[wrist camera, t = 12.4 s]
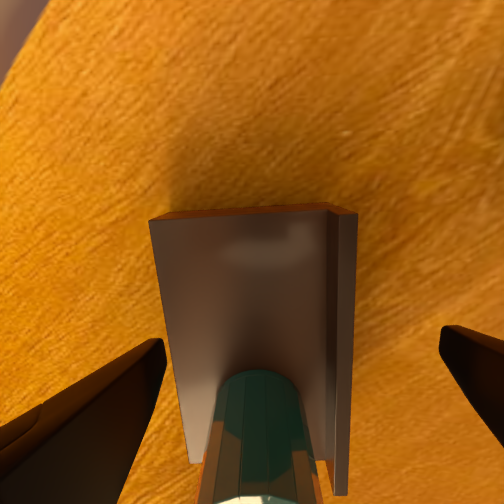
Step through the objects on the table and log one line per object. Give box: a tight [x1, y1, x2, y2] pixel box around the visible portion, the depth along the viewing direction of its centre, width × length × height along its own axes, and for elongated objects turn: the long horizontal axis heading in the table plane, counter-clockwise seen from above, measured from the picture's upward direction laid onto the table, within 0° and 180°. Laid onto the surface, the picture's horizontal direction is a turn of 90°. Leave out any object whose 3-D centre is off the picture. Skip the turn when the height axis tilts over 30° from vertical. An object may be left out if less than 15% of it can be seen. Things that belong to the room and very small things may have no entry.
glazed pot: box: [194, 369, 323, 504], centre depth 16 cm, size 7×7×8 cm
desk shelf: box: [148, 202, 358, 496], centre depth 20 cm, size 12×20×6 cm, turn 4°
